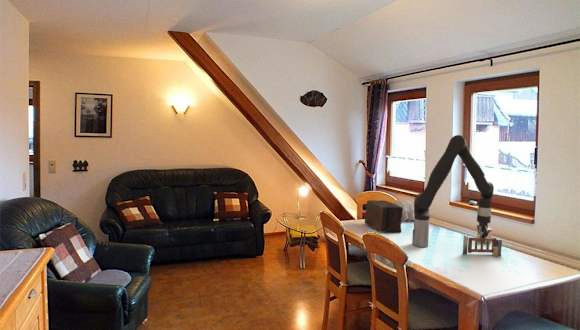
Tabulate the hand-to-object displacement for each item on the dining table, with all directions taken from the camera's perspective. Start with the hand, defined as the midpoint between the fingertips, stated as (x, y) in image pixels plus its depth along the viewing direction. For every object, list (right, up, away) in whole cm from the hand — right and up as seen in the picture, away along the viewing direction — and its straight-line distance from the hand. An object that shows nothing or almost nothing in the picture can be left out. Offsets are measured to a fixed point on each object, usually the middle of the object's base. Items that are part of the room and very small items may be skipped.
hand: (482, 242), depth 252 cm
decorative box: (-47, -1, +58) cm, 75 cm away
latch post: (+6, -7, -5) cm, 10 cm away
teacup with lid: (+13, -5, +28) cm, 31 cm away
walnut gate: (-2, -6, -3) cm, 7 cm away
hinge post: (-12, -6, -3) cm, 14 cm away
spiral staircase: (-21, +1, +87) cm, 89 cm away
